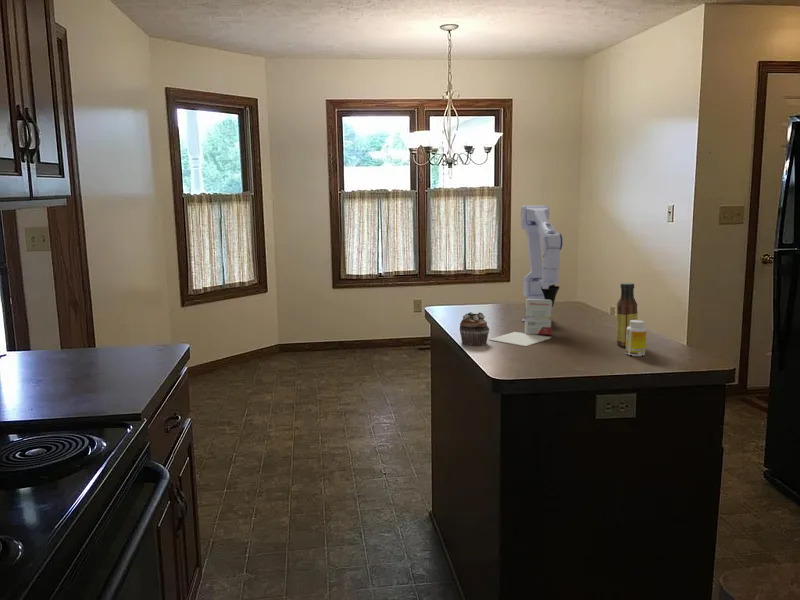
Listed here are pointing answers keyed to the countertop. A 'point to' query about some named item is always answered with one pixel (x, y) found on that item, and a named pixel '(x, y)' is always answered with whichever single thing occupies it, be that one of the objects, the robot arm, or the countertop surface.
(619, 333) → the sauce bottle
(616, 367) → the countertop surface
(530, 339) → the mat
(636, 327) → the supplement bottle
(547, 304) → the ink box
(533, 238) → the robot arm
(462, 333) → the cupcake
